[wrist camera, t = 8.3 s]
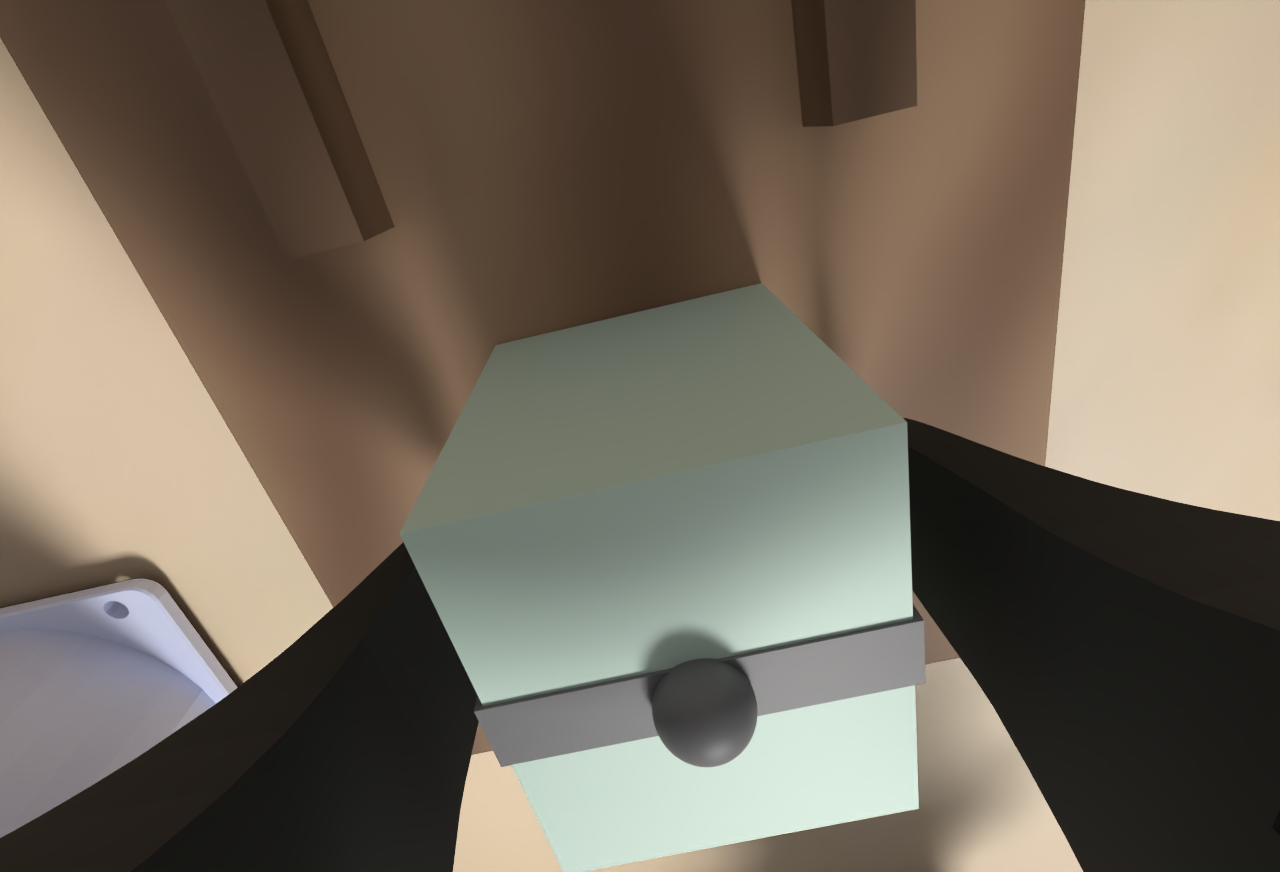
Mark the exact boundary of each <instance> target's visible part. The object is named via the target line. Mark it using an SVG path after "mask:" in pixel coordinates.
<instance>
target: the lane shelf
mask: <svg viewBox="0 0 1280 872" xmlns="http://www.w3.org/2000/svg"><path fill="white" fill-rule="evenodd" d="M1084 9H1085V0H0V38H1V39H2V41H3V43H4V44H5V46H6V48H7V50H8V51H9V53H10V55H11V56H12V58H13V60H14V61H15V63H16V65H17V67H18V68H19V70H20V72H21V73H22V75H23V77H24V79H25V80H26V82H27V84H28V85H29V87H30V89H31V91H32V92H33V94H34V96H35V97H36V99H37V101H38V103H39V104H40V106H41V108H42V109H43V111H44V113H45V115H46V116H47V118H48V120H49V121H50V123H51V125H52V127H53V128H54V130H55V132H56V133H57V135H58V137H59V138H60V140H61V142H62V144H63V145H64V147H65V149H66V150H67V152H68V154H69V156H70V157H71V159H72V161H73V162H74V164H75V166H76V168H77V169H78V171H79V173H80V174H81V176H82V178H83V180H84V181H85V183H86V185H87V186H88V188H89V190H90V192H91V193H92V195H93V197H94V198H95V200H96V202H97V204H98V205H99V207H100V209H101V210H102V212H103V214H104V215H105V217H106V219H107V221H108V222H109V224H110V226H111V227H112V229H113V231H114V233H115V234H116V236H117V238H118V239H119V241H120V243H121V245H122V246H123V248H124V250H125V251H126V253H127V255H128V257H129V258H130V260H131V262H132V263H133V265H134V267H135V269H136V270H137V272H138V274H139V275H140V277H141V279H142V280H143V282H144V284H145V286H146V287H147V289H148V291H149V292H150V294H151V296H152V298H153V299H154V301H155V303H156V304H157V306H158V308H159V310H160V311H161V313H162V315H163V316H164V318H165V320H166V322H167V323H168V325H169V327H170V328H171V330H172V332H173V334H174V335H175V337H176V339H177V340H178V342H179V344H180V346H181V347H182V349H183V351H184V352H185V354H186V356H187V357H188V359H189V361H190V363H191V364H192V366H193V368H194V369H195V371H196V373H197V375H198V376H199V378H200V380H201V381H202V383H203V385H204V387H205V388H206V390H207V392H208V393H209V395H210V397H211V399H212V400H213V402H214V404H215V405H216V407H217V409H218V411H219V412H220V414H221V416H222V417H223V419H224V421H225V422H226V424H227V426H228V428H229V429H230V431H231V433H232V434H233V436H234V438H235V440H236V441H237V443H238V445H239V446H240V448H241V450H242V452H243V453H244V455H245V457H246V458H247V460H248V462H249V464H250V465H251V467H252V469H253V470H254V472H255V474H256V476H257V477H258V479H259V481H260V482H261V484H262V486H263V488H264V489H265V491H266V493H267V494H268V496H269V498H270V499H271V501H272V503H273V505H274V506H275V508H276V510H277V511H278V513H279V515H280V517H281V518H282V520H283V522H284V523H285V525H286V527H287V529H288V530H289V532H290V534H291V535H292V537H293V539H294V541H295V542H296V544H297V546H298V547H299V549H300V551H301V553H302V554H303V556H304V558H305V559H306V561H307V563H308V565H309V566H310V568H311V570H312V571H313V573H314V575H315V576H316V578H317V580H318V582H319V583H320V585H321V587H322V588H323V590H324V592H325V594H326V595H327V597H328V599H329V600H330V602H331V604H332V606H333V607H335V606H336V605H337V604H338V603H339V602H341V601H342V600H343V599H344V598H345V597H346V596H347V595H348V594H349V593H350V592H351V591H352V590H353V589H354V588H355V587H356V586H358V585H359V584H360V583H361V582H362V581H363V580H364V579H365V578H366V577H367V576H368V575H369V574H370V573H371V572H372V571H373V570H374V569H375V568H376V567H378V566H379V565H380V564H381V563H382V562H383V561H384V560H385V559H386V558H387V557H388V556H389V555H390V554H391V553H392V552H393V551H394V550H395V549H396V548H397V547H399V546H400V545H401V544H402V543H403V540H402V538H401V536H400V534H399V533H400V531H401V529H402V527H403V525H404V523H405V521H406V519H407V517H408V516H409V514H410V512H411V510H412V508H413V506H414V504H415V502H416V500H417V498H418V496H419V494H420V492H421V490H422V488H423V486H424V484H425V482H426V480H427V478H428V476H429V474H430V473H431V471H432V469H433V467H434V465H435V463H436V461H437V459H438V457H439V455H440V453H441V451H442V449H443V447H444V445H445V443H446V441H447V439H448V437H449V435H450V433H451V431H452V429H453V428H454V426H455V424H456V422H457V420H458V418H459V416H460V414H461V412H462V410H463V408H464V406H465V404H466V402H467V400H468V398H469V396H470V394H471V392H472V390H473V388H474V386H475V385H476V383H477V381H478V379H479V377H480V375H481V373H482V371H483V369H484V367H485V365H486V363H487V361H488V359H489V357H490V355H491V353H492V351H493V349H494V347H495V345H498V344H502V343H507V342H511V341H515V340H520V339H524V338H528V337H532V336H537V335H541V334H545V333H550V332H554V331H558V330H562V329H567V328H571V327H575V326H580V325H584V324H588V323H592V322H597V321H601V320H605V319H610V318H614V317H618V316H623V315H627V314H631V313H635V312H640V311H644V310H648V309H653V308H657V307H661V306H665V305H670V304H674V303H678V302H683V301H687V300H691V299H695V298H700V297H704V296H708V295H713V294H717V293H721V292H725V291H730V290H734V289H738V288H743V287H747V286H751V285H755V284H760V283H762V284H763V285H764V286H765V287H766V288H767V289H768V290H769V291H770V292H771V293H773V294H774V295H775V296H776V297H777V298H778V299H779V300H780V301H781V302H782V303H783V304H784V305H785V306H786V307H787V308H788V309H789V310H790V311H791V312H792V313H793V314H794V315H796V316H797V317H798V318H799V319H800V320H801V321H802V322H803V323H804V324H805V325H806V326H807V327H808V328H809V329H810V330H811V331H812V332H813V333H814V334H815V335H816V336H817V337H819V338H820V339H821V340H822V341H823V342H824V343H825V344H826V345H827V346H828V347H829V348H830V349H831V350H832V351H833V352H834V353H835V354H836V355H837V356H838V357H839V358H840V359H842V360H843V361H844V362H845V363H846V364H847V365H848V366H849V367H850V368H851V369H852V370H853V371H854V372H855V373H856V374H857V375H858V376H859V377H860V378H861V379H862V380H863V381H865V382H866V383H867V384H868V385H869V386H870V387H871V388H872V389H873V390H874V391H875V392H876V393H877V394H878V395H879V396H880V397H881V398H882V399H883V400H884V401H885V402H887V403H888V404H889V405H890V406H891V407H892V408H893V409H894V410H895V411H896V412H897V413H898V414H899V415H900V416H901V417H902V418H908V419H912V420H916V421H919V422H922V423H925V424H928V425H931V426H934V427H936V428H939V429H942V430H945V431H947V432H950V433H953V434H955V435H958V436H961V437H963V438H966V439H969V440H971V441H974V442H977V443H979V444H982V445H985V446H988V447H990V448H993V449H996V450H999V451H1001V452H1004V453H1007V454H1010V455H1013V456H1015V457H1018V458H1021V459H1024V460H1027V461H1030V462H1033V463H1036V464H1039V465H1042V466H1045V460H1046V448H1047V437H1048V425H1049V414H1050V402H1051V390H1052V379H1053V367H1054V356H1055V344H1056V333H1057V321H1058V310H1059V298H1060V287H1061V275H1062V263H1063V252H1064V240H1065V229H1066V217H1067V206H1068V194H1069V183H1070V171H1071V160H1072V148H1073V136H1074V125H1075V113H1076V102H1077V90H1078V79H1079V67H1080V56H1081V44H1082V32H1083V21H1084ZM912 600H913V604H914V606H915V607H916V609H917V610H918V612H919V614H920V615H921V617H922V618H923V620H924V642H925V664H930V663H935V662H940V661H945V660H950V659H955V658H960V657H959V655H958V654H957V653H956V651H955V650H954V648H953V647H952V646H951V644H950V643H949V641H948V640H947V639H946V637H945V636H944V634H943V633H942V632H941V630H940V629H939V627H938V626H937V624H936V623H935V622H934V620H933V619H932V617H931V616H930V615H929V613H928V612H927V610H926V609H925V608H924V606H923V605H922V603H921V602H920V600H919V599H918V598H917V596H916V595H915V593H914V592H913V590H912ZM488 751H493V749H492V747H491V745H490V743H489V741H488V739H487V737H486V735H485V733H484V731H483V729H482V727H481V725H480V723H478V727H477V732H476V736H475V741H474V745H473V750H472V754H471V755H473V754H478V753H483V752H488Z"/></svg>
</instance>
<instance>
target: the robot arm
mask: <svg viewBox="0 0 1280 872" xmlns="http://www.w3.org/2000/svg"><path fill="white" fill-rule="evenodd" d="M903 419H904V420H905V421H906V422H907V433H908V467H909V500H910V533H911V566H912V590H913V592H914V593H915V595H916V596H917V598H918V599H919V600H920V602H921V603H922V605H923V606H924V608H925V609H926V610H927V612H928V613H929V615H930V616H931V617H932V619H933V620H934V622H935V623H936V624H937V626H938V627H939V629H940V630H941V632H942V633H943V634H944V636H945V637H946V639H947V640H948V641H949V643H950V644H951V646H952V647H953V648H954V650H955V651H956V653H957V654H958V655H959V657H960V658H961V660H962V661H963V662H964V664H965V665H966V667H967V668H968V669H969V671H970V672H971V674H972V675H973V676H974V678H975V679H976V681H977V682H978V684H979V685H980V687H981V688H982V690H983V692H984V693H985V695H986V696H987V698H988V699H989V701H990V702H991V704H992V705H993V707H994V709H995V710H996V712H997V714H998V716H999V717H1000V719H1001V721H1002V723H1003V724H1004V726H1005V728H1006V730H1007V731H1008V733H1009V735H1010V737H1011V739H1012V740H1013V742H1014V744H1015V746H1016V747H1017V749H1018V751H1019V753H1020V754H1021V756H1022V758H1023V760H1024V761H1025V763H1026V765H1027V767H1028V768H1029V770H1030V772H1031V774H1032V776H1033V778H1034V779H1035V781H1036V783H1037V785H1038V787H1039V789H1040V791H1041V792H1042V794H1043V796H1044V798H1045V800H1046V802H1047V803H1048V805H1049V807H1050V809H1051V811H1052V813H1053V815H1054V816H1055V818H1056V820H1057V822H1058V824H1059V826H1060V827H1061V829H1062V831H1063V833H1064V835H1065V837H1066V839H1067V841H1068V842H1069V844H1070V846H1071V848H1072V850H1073V852H1074V854H1075V856H1076V858H1077V860H1078V862H1079V864H1080V866H1081V868H1082V870H1083V872H1280V521H1274V520H1268V519H1263V518H1257V517H1251V516H1246V515H1240V514H1234V513H1229V512H1223V511H1217V510H1212V509H1207V508H1202V507H1197V506H1192V505H1188V504H1183V503H1178V502H1174V501H1169V500H1165V499H1161V498H1157V497H1153V496H1149V495H1144V494H1140V493H1136V492H1132V491H1128V490H1124V489H1119V488H1116V487H1112V486H1108V485H1105V484H1101V483H1097V482H1094V481H1090V480H1087V479H1084V478H1081V477H1077V476H1074V475H1071V474H1067V473H1064V472H1061V471H1058V470H1054V469H1051V468H1048V467H1045V466H1042V465H1039V464H1036V463H1033V462H1030V461H1027V460H1024V459H1021V458H1018V457H1015V456H1013V455H1010V454H1007V453H1004V452H1001V451H999V450H996V449H993V448H990V447H988V446H985V445H982V444H979V443H977V442H974V441H971V440H969V439H966V438H963V437H961V436H958V435H955V434H953V433H950V432H947V431H945V430H942V429H939V428H936V427H934V426H931V425H928V424H925V423H922V422H919V421H916V420H912V419H908V418H903ZM121 603H122V604H124V605H122V604H121ZM477 696H478V695H477V693H476V691H475V689H474V687H473V685H472V683H471V681H470V678H469V676H468V674H467V672H466V670H465V668H464V666H463V664H462V662H461V660H460V658H459V656H458V654H457V652H456V650H455V647H454V645H453V643H452V641H451V639H450V637H449V635H448V633H447V631H446V629H445V627H444V625H443V623H442V621H441V619H440V616H439V614H438V612H437V610H436V608H435V606H434V604H433V602H432V600H431V598H430V596H429V594H428V592H427V590H426V588H425V585H424V583H423V581H422V579H421V577H420V575H419V573H418V571H417V569H416V567H415V565H414V563H413V561H412V559H411V557H410V554H409V552H408V550H407V548H406V546H405V544H404V542H403V543H402V544H401V545H400V546H399V547H397V548H396V549H395V550H394V551H393V552H392V553H391V554H390V555H389V556H388V557H387V558H386V559H385V560H384V561H383V562H382V563H381V564H380V565H379V566H378V567H376V568H375V569H374V570H373V571H372V572H371V573H370V574H369V575H368V576H367V577H366V578H365V579H364V580H363V581H362V582H361V583H360V584H359V585H358V586H356V587H355V588H354V589H353V590H352V591H351V592H350V593H349V594H348V595H347V596H346V597H345V598H344V599H343V600H342V601H341V602H339V603H338V604H337V605H336V606H335V607H334V608H333V609H332V610H330V611H329V612H328V613H327V614H326V615H325V616H324V617H323V618H321V619H320V620H319V621H318V622H317V623H316V624H315V625H314V626H312V627H311V628H310V629H309V630H308V631H307V632H306V633H305V634H303V635H302V636H301V637H300V638H299V639H298V640H297V641H295V642H294V643H293V644H292V645H291V646H290V647H288V648H287V649H286V650H285V651H284V652H282V653H281V654H280V655H279V656H278V657H276V658H275V659H274V660H273V661H271V662H270V663H269V664H268V665H266V666H265V667H264V668H263V669H261V670H260V671H259V672H258V673H256V674H255V675H254V676H252V677H251V678H250V679H248V680H247V681H246V682H244V683H243V684H242V685H240V686H239V687H237V686H236V685H235V683H234V682H233V681H232V679H231V678H230V676H229V675H228V674H227V672H226V671H225V670H224V668H223V667H222V666H221V664H220V663H219V661H218V660H217V659H216V657H215V656H214V655H213V653H212V652H211V651H210V649H209V648H208V646H207V645H206V644H205V642H204V641H203V640H202V638H201V637H200V636H199V634H198V633H197V631H196V630H195V629H194V627H193V626H192V625H191V623H190V622H189V621H188V619H187V618H186V616H185V615H184V614H183V612H182V611H181V610H180V608H179V607H178V606H177V604H176V603H175V601H174V600H173V599H172V597H171V596H170V595H169V593H168V592H167V591H166V589H165V588H164V587H163V586H161V585H160V584H158V583H157V582H155V581H152V580H148V579H143V578H142V579H132V580H127V581H123V582H118V583H113V584H109V585H104V586H100V587H95V588H91V589H86V590H82V591H77V592H73V593H68V594H64V595H59V596H54V597H50V598H45V599H41V600H36V601H32V602H27V603H23V604H18V605H14V606H9V607H5V608H0V872H453V864H454V856H455V847H456V839H457V831H458V823H459V814H460V808H461V802H462V797H463V791H464V786H465V781H466V776H467V772H468V767H469V763H470V758H471V754H472V750H473V745H474V741H475V736H476V732H477V727H478V723H479V721H478V719H477V717H476V715H475V713H474V709H475V705H476V700H477Z"/></svg>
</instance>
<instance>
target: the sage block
mask: <svg viewBox="0 0 1280 872" xmlns="http://www.w3.org/2000/svg"><path fill="white" fill-rule="evenodd" d="M399 534H400V536H401V538H402V540H403V542H404V544H405V546H406V548H407V550H408V552H409V554H410V557H411V559H412V561H413V563H414V565H415V567H416V569H417V571H418V573H419V575H420V577H421V579H422V581H423V583H424V585H425V588H426V590H427V592H428V594H429V596H430V598H431V600H432V602H433V604H434V606H435V608H436V610H437V612H438V614H439V616H440V619H441V621H442V623H443V625H444V627H445V629H446V631H447V633H448V635H449V637H450V639H451V641H452V643H453V645H454V647H455V650H456V652H457V654H458V656H459V658H460V660H461V662H462V664H463V666H464V668H465V670H466V672H467V674H468V676H469V678H470V681H471V683H472V685H473V687H474V689H475V691H476V693H477V695H478V696H477V700H476V705H475V709H474V713H475V715H476V717H477V719H478V721H479V723H480V725H481V727H482V729H483V731H484V733H485V735H486V737H487V739H488V741H489V743H490V745H491V747H492V749H493V751H494V753H495V755H496V757H497V759H498V761H499V763H500V765H501V767H503V766H508V765H512V767H513V769H514V771H515V773H516V776H517V778H518V780H519V782H520V784H521V786H522V788H523V790H524V792H525V794H526V796H527V798H528V800H529V802H530V804H531V807H532V809H533V811H534V813H535V815H536V817H537V819H538V821H539V823H540V825H541V827H542V829H543V831H544V833H545V835H546V838H547V840H548V842H549V844H550V846H551V848H552V850H553V852H554V854H555V856H556V858H557V860H558V862H559V864H560V866H561V869H562V871H563V872H584V871H589V870H595V869H600V868H605V867H611V866H616V865H621V864H627V863H632V862H637V861H643V860H648V859H653V858H659V857H664V856H669V855H675V854H680V853H685V852H691V851H696V850H701V849H707V848H712V847H717V846H723V845H728V844H733V843H739V842H744V841H749V840H755V839H760V838H765V837H771V836H776V835H781V834H787V833H792V832H798V831H803V830H808V829H814V828H819V827H824V826H830V825H835V824H840V823H846V822H851V821H856V820H862V819H867V818H872V817H878V816H883V815H888V814H894V813H899V812H904V811H910V810H915V809H919V799H918V766H917V732H916V699H915V685H919V684H924V683H925V642H924V620H923V618H922V617H921V615H920V614H919V612H918V610H917V609H916V607H915V606H914V604H913V600H912V566H911V533H910V500H909V467H908V433H907V422H906V421H905V420H904V419H903V418H902V417H901V416H900V415H899V414H898V413H897V412H896V411H895V410H894V409H893V408H892V407H891V406H890V405H889V404H888V403H887V402H885V401H884V400H883V399H882V398H881V397H880V396H879V395H878V394H877V393H876V392H875V391H874V390H873V389H872V388H871V387H870V386H869V385H868V384H867V383H866V382H865V381H863V380H862V379H861V378H860V377H859V376H858V375H857V374H856V373H855V372H854V371H853V370H852V369H851V368H850V367H849V366H848V365H847V364H846V363H845V362H844V361H843V360H842V359H840V358H839V357H838V356H837V355H836V354H835V353H834V352H833V351H832V350H831V349H830V348H829V347H828V346H827V345H826V344H825V343H824V342H823V341H822V340H821V339H820V338H819V337H817V336H816V335H815V334H814V333H813V332H812V331H811V330H810V329H809V328H808V327H807V326H806V325H805V324H804V323H803V322H802V321H801V320H800V319H799V318H798V317H797V316H796V315H794V314H793V313H792V312H791V311H790V310H789V309H788V308H787V307H786V306H785V305H784V304H783V303H782V302H781V301H780V300H779V299H778V298H777V297H776V296H775V295H774V294H773V293H771V292H770V291H769V290H768V289H767V288H766V287H765V286H764V285H763V284H762V283H760V284H755V285H751V286H747V287H743V288H738V289H734V290H730V291H725V292H721V293H717V294H713V295H708V296H704V297H700V298H695V299H691V300H687V301H683V302H678V303H674V304H670V305H665V306H661V307H657V308H653V309H648V310H644V311H640V312H635V313H631V314H627V315H623V316H618V317H614V318H610V319H605V320H601V321H597V322H592V323H588V324H584V325H580V326H575V327H571V328H567V329H562V330H558V331H554V332H550V333H545V334H541V335H537V336H532V337H528V338H524V339H520V340H515V341H511V342H507V343H502V344H498V345H495V347H494V349H493V351H492V353H491V355H490V357H489V359H488V361H487V363H486V365H485V367H484V369H483V371H482V373H481V375H480V377H479V379H478V381H477V383H476V385H475V386H474V388H473V390H472V392H471V394H470V396H469V398H468V400H467V402H466V404H465V406H464V408H463V410H462V412H461V414H460V416H459V418H458V420H457V422H456V424H455V426H454V428H453V429H452V431H451V433H450V435H449V437H448V439H447V441H446V443H445V445H444V447H443V449H442V451H441V453H440V455H439V457H438V459H437V461H436V463H435V465H434V467H433V469H432V471H431V473H430V474H429V476H428V478H427V480H426V482H425V484H424V486H423V488H422V490H421V492H420V494H419V496H418V498H417V500H416V502H415V504H414V506H413V508H412V510H411V512H410V514H409V516H408V517H407V519H406V521H405V523H404V525H403V527H402V529H401V531H400V533H399Z"/></svg>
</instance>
